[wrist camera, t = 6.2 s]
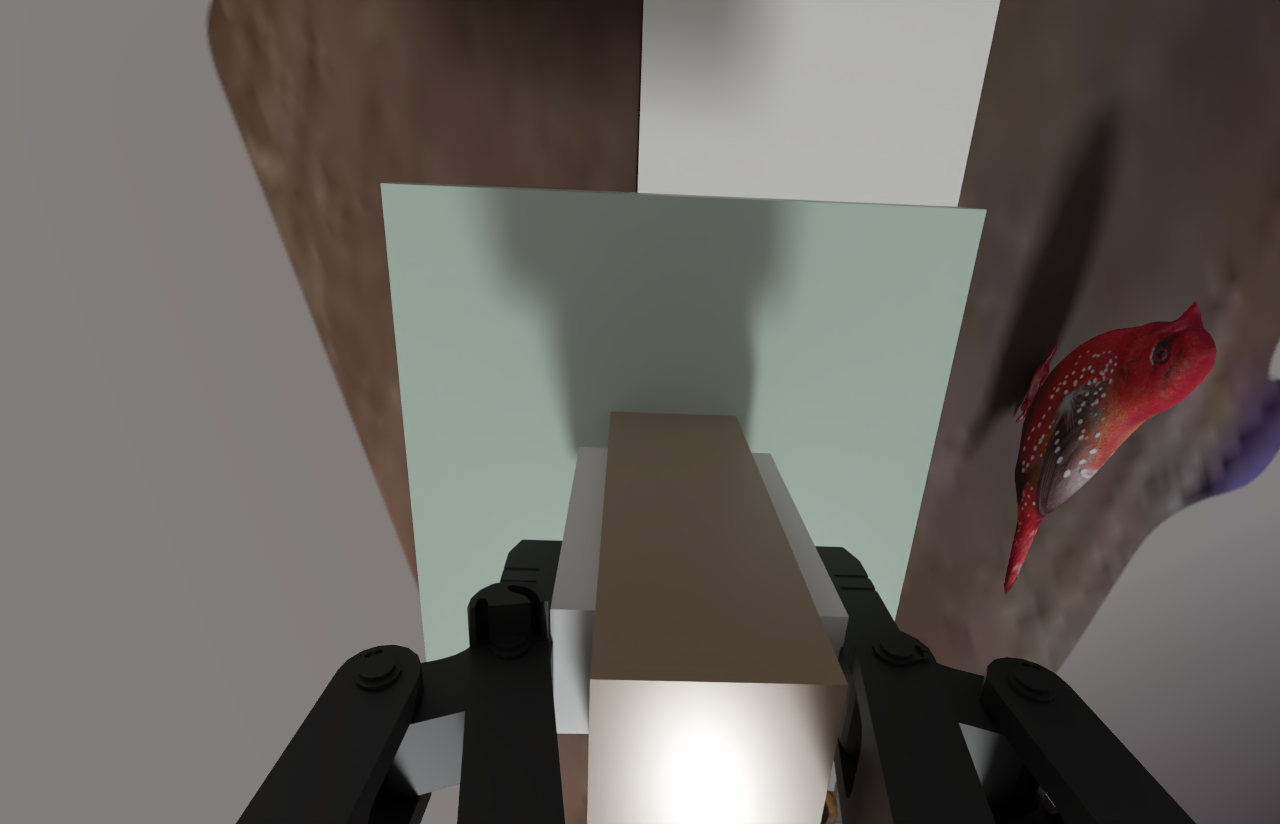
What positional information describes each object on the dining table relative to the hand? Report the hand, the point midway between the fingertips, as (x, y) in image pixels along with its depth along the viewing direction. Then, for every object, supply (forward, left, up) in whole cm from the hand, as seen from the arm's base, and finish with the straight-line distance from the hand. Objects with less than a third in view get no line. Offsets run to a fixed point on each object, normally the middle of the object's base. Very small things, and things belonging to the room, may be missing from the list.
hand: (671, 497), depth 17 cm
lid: (0, 0, -3) cm, 3 cm away
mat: (-7, -8, -21) cm, 24 cm away
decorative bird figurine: (-22, +6, -22) cm, 32 cm away
